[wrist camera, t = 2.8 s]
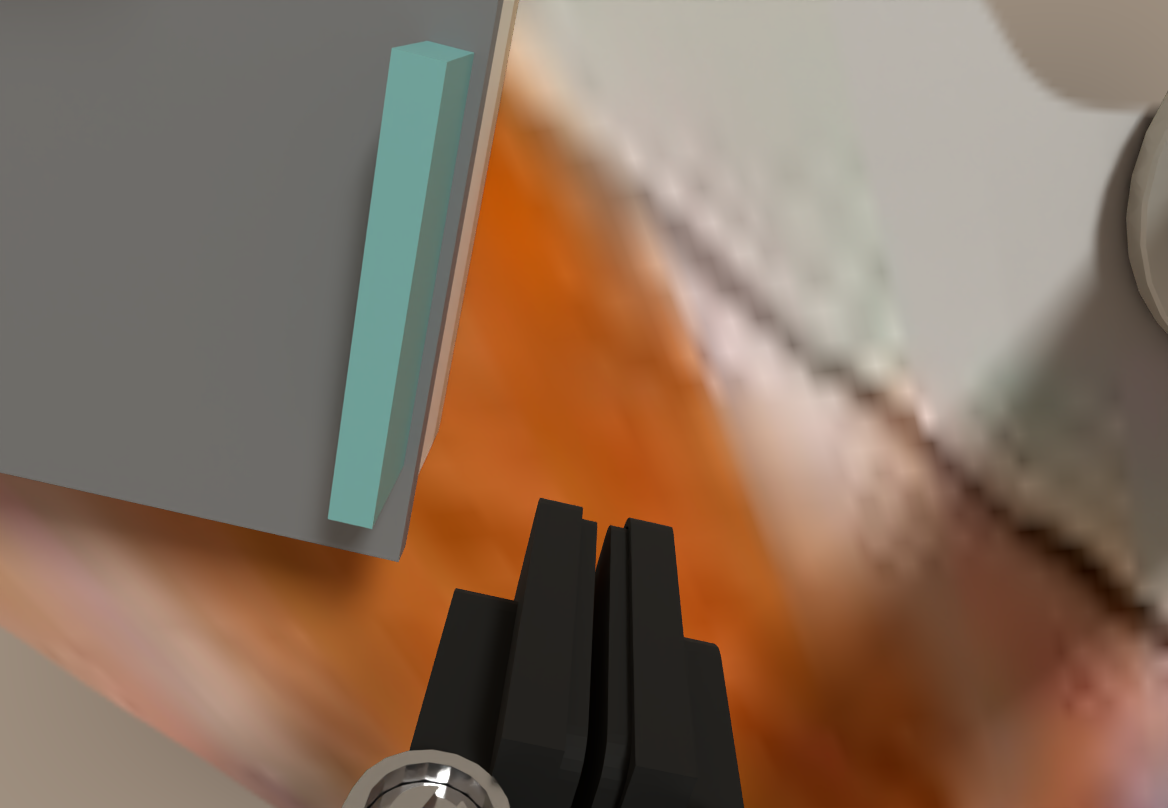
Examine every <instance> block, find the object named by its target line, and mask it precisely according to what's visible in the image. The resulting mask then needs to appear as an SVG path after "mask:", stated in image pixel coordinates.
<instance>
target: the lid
mask: <svg viewBox="0 0 1168 808" xmlns="http://www.w3.org/2000/svg"><path fill="white" fill-rule="evenodd" d="M503 1H504V0H0V473H5V474H9V475H14V476H18V477H22V478H27V479H31V480H36V481H40V482H45V483H49V484H54V485H58V486H62V487H67V488H71V489H76V490H80V491H85V492H89V493H94V494H98V495H103V496H107V497H111V498H116V499H120V500H125V501H129V502H134V503H138V504H143V505H147V506H152V507H156V508H160V509H165V510H169V511H174V512H178V513H183V514H187V515H192V516H196V517H201V518H205V519H209V520H214V521H218V522H223V523H227V524H232V525H236V526H241V527H245V528H249V529H254V530H258V531H263V532H267V533H272V534H276V535H281V536H285V537H290V538H294V539H298V540H303V541H307V542H312V543H316V544H321V545H325V546H330V547H334V548H339V549H343V550H347V551H352V552H356V553H361V554H365V555H370V556H374V557H379V558H383V559H388V560H392V561H396V562H399V560H400V557H401V555H402V552H403V550H404V548H405V545H406V539H407V534H408V528H409V523H410V517H411V512H412V506H413V501H414V495H415V489H416V484H417V478H418V473H419V467H420V462H421V456H422V451H423V445H424V440H425V434H426V428H427V423H428V417H429V412H430V406H431V401H432V395H433V390H434V384H435V378H436V373H437V367H438V362H439V356H440V351H441V345H442V340H443V334H444V329H445V323H446V317H447V312H448V306H449V301H450V295H451V290H452V284H453V279H454V273H455V267H456V262H457V256H458V251H459V245H460V240H461V234H462V229H463V223H464V218H465V212H466V206H467V201H468V195H469V190H470V184H471V179H472V173H473V168H474V162H475V156H476V151H477V145H478V140H479V134H480V129H481V123H482V118H483V112H484V107H485V101H486V95H487V90H488V84H489V79H490V73H491V68H492V62H493V57H494V51H495V45H496V40H497V34H498V29H499V23H500V18H501V12H502V7H503Z"/></svg>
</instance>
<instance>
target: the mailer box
mask: <svg viewBox="0 0 1168 808" xmlns="http://www.w3.org/2000/svg"><path fill="white" fill-rule="evenodd" d="M518 3H519V0H504V1H503V7H502V12H501V18H500V23H499V29H498V34H497V40H496V45H495V51H494V57H493V62H492V68H491V73H490V79H489V84H488V90H487V95H486V101H485V107H484V112H483V118H482V123H481V129H480V134H479V140H478V145H477V151H476V156H475V162H474V168H473V173H472V179H471V184H470V190H469V195H468V201H467V206H466V212H465V218H464V223H463V229H462V234H461V240H460V245H459V251H458V256H457V262H456V267H455V273H454V279H453V284H452V290H451V295H450V301H449V306H448V312H447V317H446V323H445V329H444V334H443V340H442V345H441V351H440V356H439V362H438V367H437V373H436V378H435V384H434V390H433V395H432V401H431V406H430V412H429V417H428V423H427V428H426V434H425V440H424V445H423V451H422V456H421V462H420V467H419V472H420V470H421V468H422V466H423V463H424V461H425V459H426V457H427V455H428V452H429V450H430V448H431V446H432V444H433V441H434V439H435V437H436V435H437V433H438V430H439V426H440V421H441V415H442V410H443V405H444V399H445V394H446V389H447V383H448V378H449V372H450V367H451V362H452V356H453V351H454V346H455V340H456V335H457V330H458V324H459V319H460V314H461V308H462V303H463V297H464V292H465V287H466V281H467V276H468V271H469V265H470V260H471V255H472V249H473V244H474V238H475V233H476V228H477V222H478V217H479V212H480V206H481V201H482V196H483V190H484V185H485V180H486V174H487V169H488V163H489V158H490V153H491V147H492V142H493V137H494V131H495V126H496V121H497V115H498V110H499V105H500V99H501V94H502V88H503V83H504V78H505V72H506V67H507V62H508V56H509V51H510V46H511V40H512V35H513V30H514V24H515V19H516V13H517V8H518ZM418 474H419V473H418Z"/></svg>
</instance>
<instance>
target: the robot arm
mask: <svg viewBox="0 0 1168 808" xmlns="http://www.w3.org/2000/svg"><path fill="white" fill-rule="evenodd" d="M1126 226H1127V241H1128V256H1129V260H1130V264H1131V267H1132V270H1133V274H1134V277H1135V280H1136V284H1137V287H1138V290H1139V293H1140V295H1141V296H1142V298H1143V300H1144V302H1145V303H1146V305H1147V307H1148V308H1149V310H1150V312H1151V313H1152V315H1153V317H1154V319H1155V320H1156V322H1157V323H1158V324H1159V325H1160V326H1161V327H1162V328H1163V329H1164V330H1165V331H1166V333H1167V334H1168V92H1167V94H1166V96H1165V98H1164V100H1163V102H1162V103H1161V105H1160V107H1159V109H1158V111H1157V113H1156V115H1155V117H1154V118H1153V120H1152V122H1151V124H1150V126H1149V128H1148V130H1147V132H1146V134H1145V137H1144V140H1143V143H1142V146H1141V149H1140V152H1139V156H1138V159H1137V162H1136V165H1135V168H1134V171H1133V174H1132V178H1131V185H1130V192H1129V200H1128V207H1127V214H1126ZM582 514H583V508H582V507H579V506H575V505H570V504H566V503H561V502H557V501H552V500H548V499H543V498H540V499H539V502H538V506H537V509H536V513H535V517H534V522H533V526H532V530H531V534H530V538H529V542H528V546H527V550H526V554H525V558H524V562H523V566H522V570H521V574H520V578H519V582H518V586H517V590H516V595H515V599H514V601H513V600H508V599H504V598H499V597H494V596H490V595H485V594H481V593H476V592H471V591H467V590H462V589H457V588H456V589H455V591H454V594H453V598H452V601H451V605H450V608H449V612H448V615H447V619H446V622H445V626H444V629H443V633H442V637H441V640H440V644H439V647H438V651H437V654H436V658H435V661H434V665H433V669H432V672H431V676H430V679H429V683H428V686H427V690H426V693H425V697H424V701H423V704H422V708H421V711H420V715H419V718H418V722H417V725H416V729H415V733H414V736H413V740H412V743H411V747H410V750H409V751H406V752H403V753H400V754H397V755H393V756H390V757H387V758H385V759H383V760H382V761H380V762H379V763H377V764H376V765H374V766H373V767H371V768H370V769H368V770H367V771H366V772H365V773H364V774H363V776H362V777H361V778H360V779H359V781H358V782H357V783H356V784H355V786H354V787H353V788H352V790H351V792H350V793H349V795H348V797H347V799H346V801H345V803H344V804H343V806H342V808H744V804H743V798H742V791H741V785H740V778H739V772H738V765H737V759H736V752H735V745H734V739H733V732H732V726H731V719H730V713H729V706H728V700H727V693H726V687H725V680H724V674H723V667H722V660H721V655H720V651H719V648H718V647H717V646H716V645H715V644H713V643H708V642H704V641H699V640H694V639H690V638H685V637H684V635H683V625H682V615H681V605H680V595H679V585H678V575H677V565H676V555H675V545H674V534H673V529H672V527H669V526H665V525H660V524H656V523H651V522H647V521H642V520H638V519H633V518H628V519H627V521H626V523H625V526H624V528H620V527H616V526H611V525H610V526H609V528H608V530H607V533H606V536H605V539H604V543H603V546H602V550H601V553H600V557H599V560H598V564H597V567H596V571H595V563H596V540H597V522H593V521H589V520H584V519H582Z"/></svg>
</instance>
